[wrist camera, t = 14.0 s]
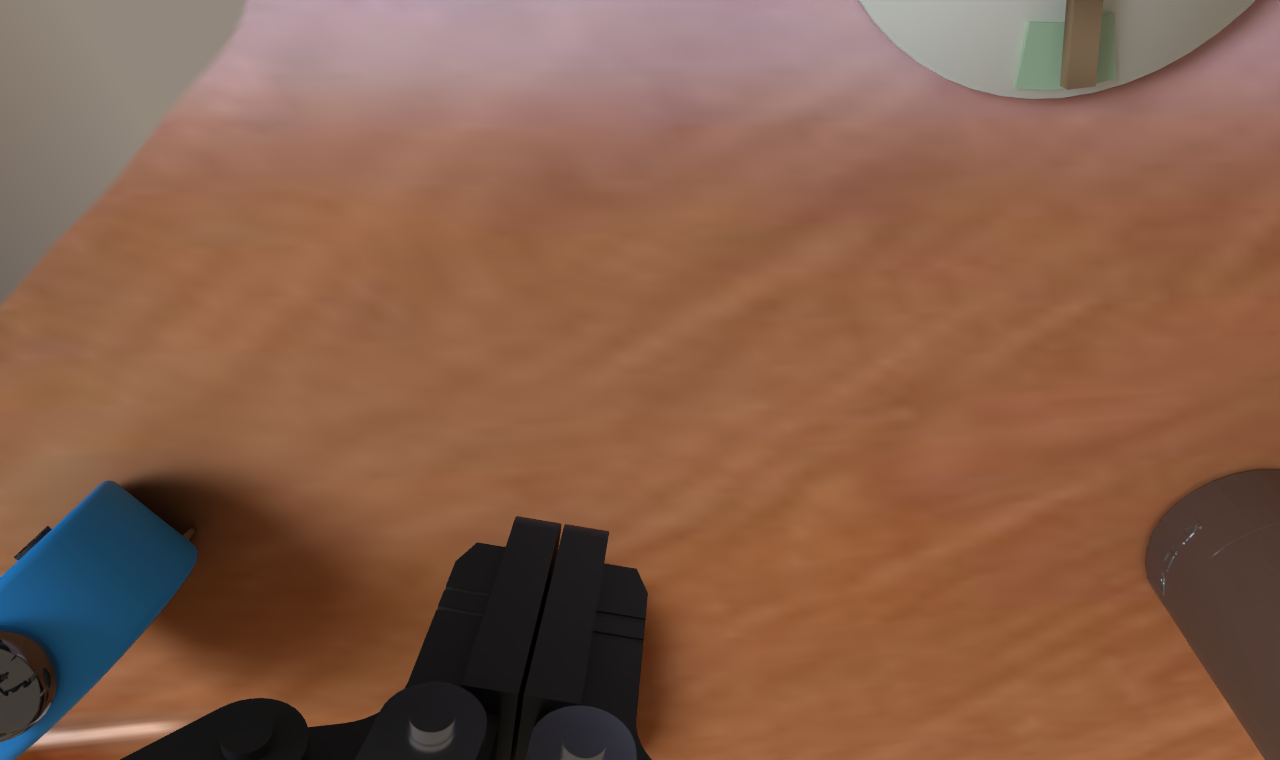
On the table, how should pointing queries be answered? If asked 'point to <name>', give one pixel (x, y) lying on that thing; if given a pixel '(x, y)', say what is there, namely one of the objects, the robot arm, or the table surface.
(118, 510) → the alarm clock
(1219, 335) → the table surface
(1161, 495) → the table surface
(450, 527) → the table surface
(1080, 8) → the dial
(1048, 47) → the plate
